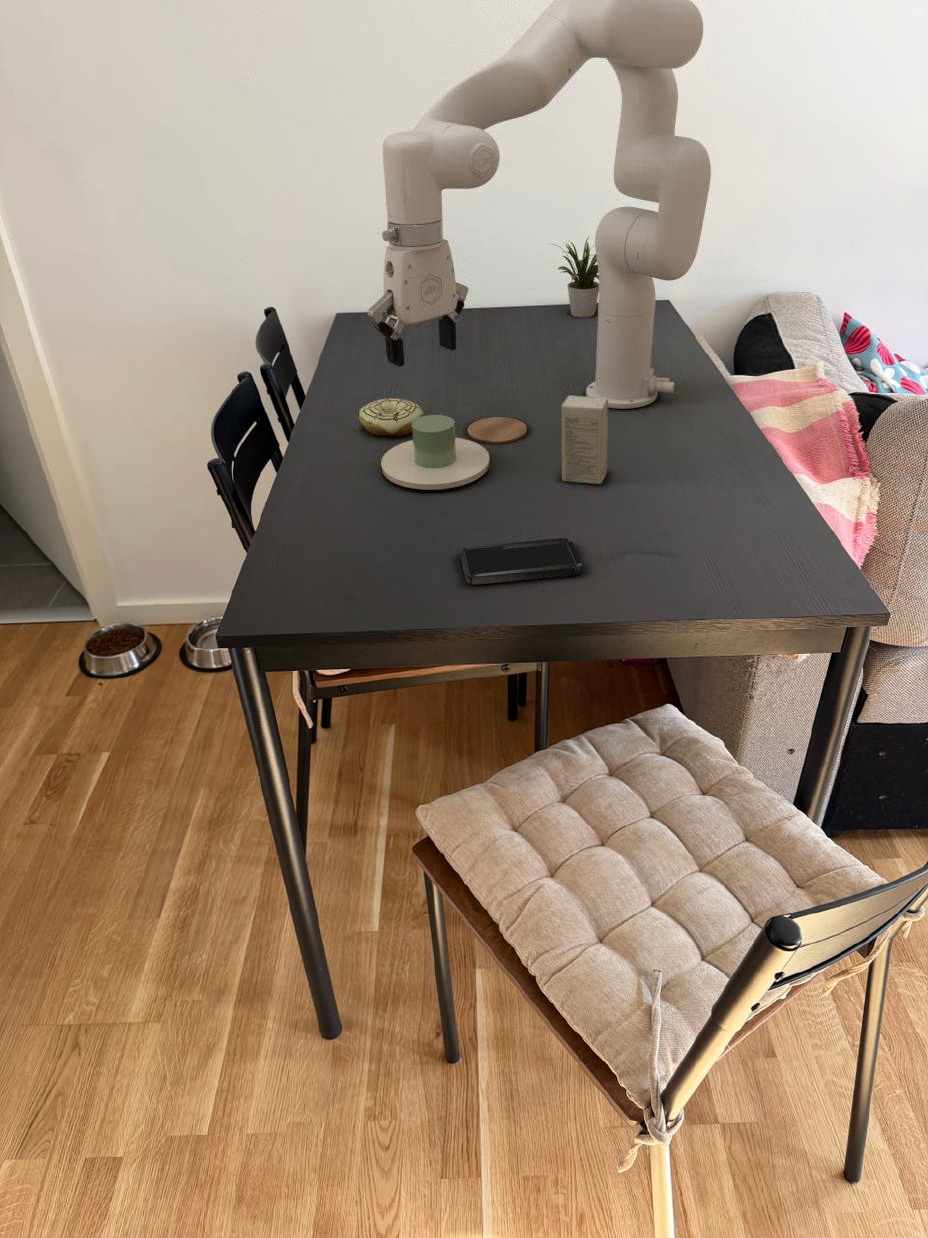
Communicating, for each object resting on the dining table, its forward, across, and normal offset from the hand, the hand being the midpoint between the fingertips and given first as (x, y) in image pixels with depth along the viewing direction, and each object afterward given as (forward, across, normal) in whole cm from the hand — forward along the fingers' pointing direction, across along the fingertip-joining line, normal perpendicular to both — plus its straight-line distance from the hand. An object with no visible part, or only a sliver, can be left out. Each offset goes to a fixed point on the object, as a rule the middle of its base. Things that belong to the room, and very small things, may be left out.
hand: (422, 355), depth 139 cm
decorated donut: (+18, +5, +17) cm, 25 cm away
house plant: (+17, +71, +37) cm, 82 cm away
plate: (+18, 0, -1) cm, 18 cm away
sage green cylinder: (+16, 0, -1) cm, 16 cm away
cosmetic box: (+18, +15, -20) cm, 30 cm away
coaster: (+18, +17, +3) cm, 25 cm away
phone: (+18, -10, -31) cm, 37 cm away
